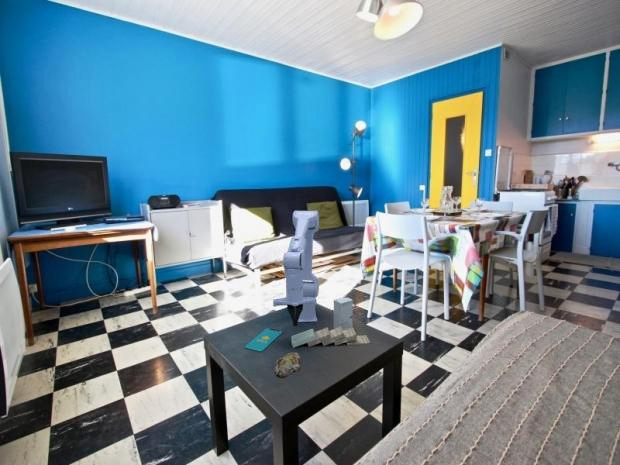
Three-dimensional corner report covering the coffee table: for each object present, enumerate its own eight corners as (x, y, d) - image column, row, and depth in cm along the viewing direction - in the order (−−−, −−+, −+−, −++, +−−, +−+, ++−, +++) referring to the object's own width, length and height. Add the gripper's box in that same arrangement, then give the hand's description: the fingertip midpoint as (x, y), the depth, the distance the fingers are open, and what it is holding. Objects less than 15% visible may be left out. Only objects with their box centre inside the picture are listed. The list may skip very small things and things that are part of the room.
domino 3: (321, 342, 104) (343, 332, 104) (320, 335, 109) (340, 326, 109) (323, 346, 104) (345, 336, 104) (321, 338, 109) (342, 329, 109)
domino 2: (307, 342, 103) (329, 334, 103) (306, 335, 108) (327, 327, 108) (309, 346, 104) (330, 338, 104) (308, 339, 109) (329, 331, 109)
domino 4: (334, 341, 104) (356, 334, 104) (331, 334, 109) (352, 327, 109) (335, 345, 104) (357, 338, 105) (332, 338, 109) (354, 331, 110)
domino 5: (347, 343, 105) (370, 342, 105) (344, 336, 109) (366, 335, 110) (347, 347, 105) (370, 346, 106) (344, 340, 110) (366, 339, 110)
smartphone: (243, 347, 103) (266, 327, 117) (243, 349, 103) (266, 329, 117) (261, 351, 100) (283, 331, 114) (261, 354, 100) (283, 333, 114)
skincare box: (340, 335, 111) (340, 303, 110) (332, 330, 115) (332, 299, 113) (353, 330, 115) (353, 299, 113) (345, 325, 119) (345, 296, 117)
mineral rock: (281, 349, 99) (303, 347, 95) (285, 361, 99) (307, 360, 96) (264, 368, 89) (288, 367, 86) (268, 382, 89) (292, 382, 86)
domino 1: (291, 343, 103) (313, 335, 103) (291, 336, 108) (312, 328, 108) (293, 347, 103) (315, 339, 103) (292, 340, 108) (314, 332, 108)
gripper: (272, 291, 98) (273, 331, 100) (317, 290, 99) (317, 329, 101) (273, 284, 105) (274, 321, 107) (315, 283, 106) (315, 320, 108)
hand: (295, 324), depth 105 cm, fingers closed
